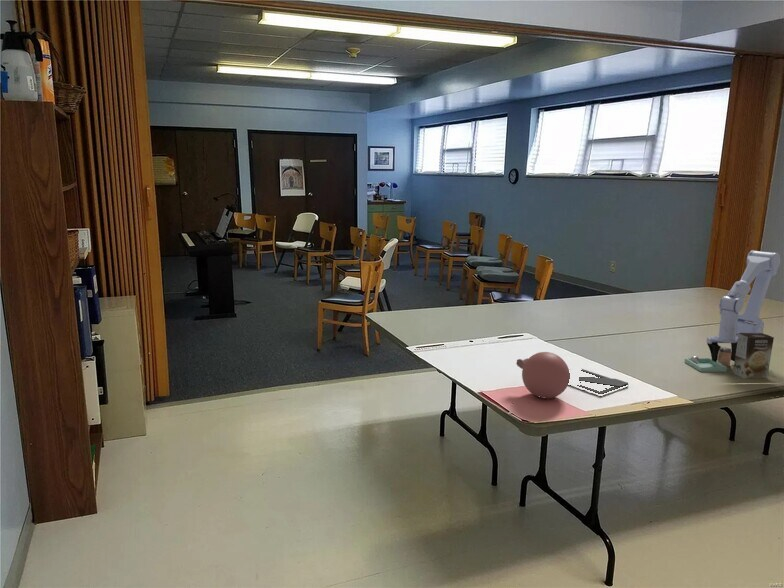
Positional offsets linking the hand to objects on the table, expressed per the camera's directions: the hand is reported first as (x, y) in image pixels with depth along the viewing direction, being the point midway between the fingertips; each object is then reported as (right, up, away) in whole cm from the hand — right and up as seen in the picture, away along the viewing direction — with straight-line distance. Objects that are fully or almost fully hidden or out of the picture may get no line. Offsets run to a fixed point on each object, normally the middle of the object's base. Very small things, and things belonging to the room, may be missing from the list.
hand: (723, 360), depth 214 cm
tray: (-8, -2, -2) cm, 9 cm away
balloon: (-80, -8, -27) cm, 85 cm away
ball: (-11, -1, +1) cm, 11 cm away
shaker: (0, -2, 0) cm, 2 cm away
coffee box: (+3, -5, -11) cm, 12 cm away
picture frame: (-59, -7, -17) cm, 62 cm away
